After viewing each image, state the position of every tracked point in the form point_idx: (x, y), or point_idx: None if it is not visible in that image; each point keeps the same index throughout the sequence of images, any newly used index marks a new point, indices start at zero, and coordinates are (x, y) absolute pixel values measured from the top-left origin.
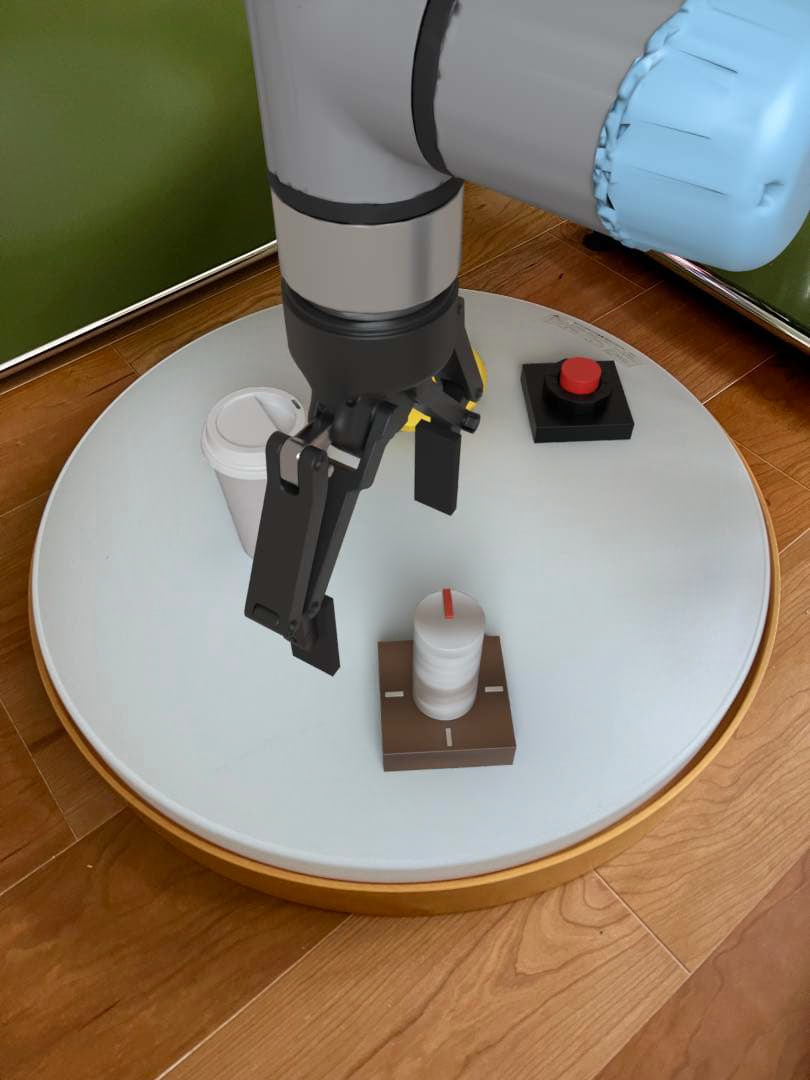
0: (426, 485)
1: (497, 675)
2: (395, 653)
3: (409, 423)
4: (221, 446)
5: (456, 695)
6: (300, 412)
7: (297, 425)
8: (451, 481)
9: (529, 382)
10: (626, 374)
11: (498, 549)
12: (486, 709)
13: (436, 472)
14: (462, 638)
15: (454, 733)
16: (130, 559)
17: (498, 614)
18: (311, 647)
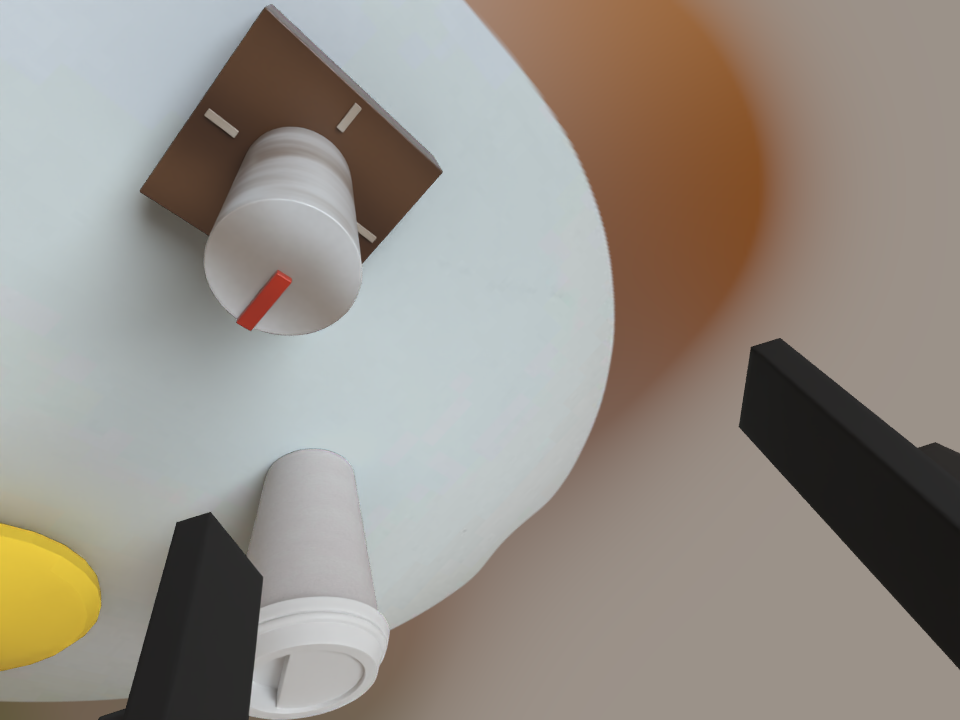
0: (237, 633)
1: (196, 137)
2: None
3: (28, 547)
4: (376, 664)
5: (318, 154)
6: None
7: (258, 663)
8: (182, 658)
9: None
10: None
11: (16, 312)
12: (260, 105)
13: (210, 697)
14: (295, 222)
15: (336, 115)
16: (450, 521)
17: (100, 224)
18: (924, 447)
